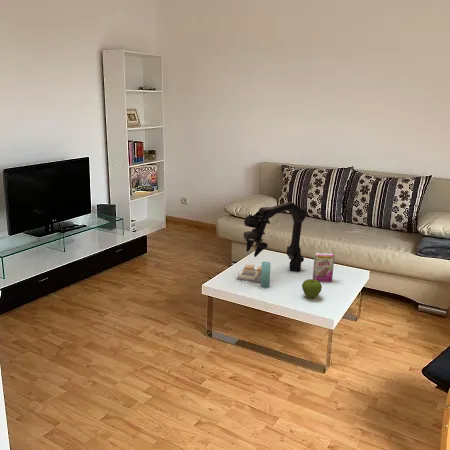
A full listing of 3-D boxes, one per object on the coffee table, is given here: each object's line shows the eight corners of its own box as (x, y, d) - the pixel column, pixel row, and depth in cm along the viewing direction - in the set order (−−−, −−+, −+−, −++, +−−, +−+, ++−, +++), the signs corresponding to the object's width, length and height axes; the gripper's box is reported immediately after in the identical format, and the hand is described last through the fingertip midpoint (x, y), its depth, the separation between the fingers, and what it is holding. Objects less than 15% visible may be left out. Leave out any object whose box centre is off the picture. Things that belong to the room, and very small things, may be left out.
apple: (297, 294, 266) (298, 277, 264) (314, 291, 270) (315, 275, 267) (308, 302, 257) (309, 284, 254) (324, 299, 260) (326, 282, 258)
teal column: (270, 285, 278) (271, 262, 274) (268, 288, 274) (269, 265, 270) (261, 283, 280) (262, 261, 276) (259, 287, 275) (260, 264, 271)
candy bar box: (313, 281, 285) (315, 255, 280) (312, 278, 289) (314, 252, 285) (332, 282, 284) (334, 256, 279) (331, 279, 288) (333, 253, 284)
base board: (269, 273, 296) (269, 266, 295) (263, 283, 280) (263, 276, 279) (244, 269, 301) (244, 263, 299) (236, 279, 285) (236, 273, 284)
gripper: (240, 221, 285) (232, 246, 287) (256, 231, 269) (247, 257, 272) (256, 225, 291) (247, 249, 293) (272, 235, 275) (263, 260, 277)
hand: (250, 254), depth 283 cm, fingers open, 9 cm apart
